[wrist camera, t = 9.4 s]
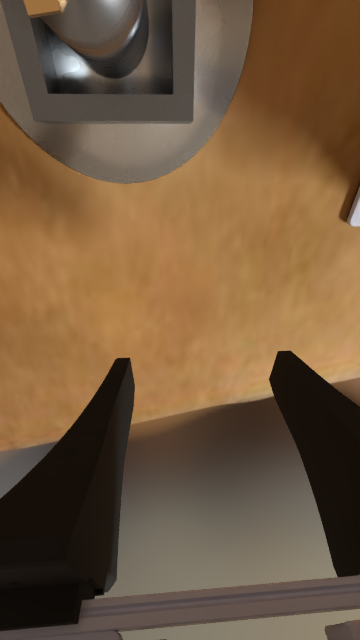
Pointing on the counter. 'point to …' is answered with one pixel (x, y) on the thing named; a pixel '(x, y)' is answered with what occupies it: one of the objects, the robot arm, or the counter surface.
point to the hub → (126, 89)
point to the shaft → (99, 31)
